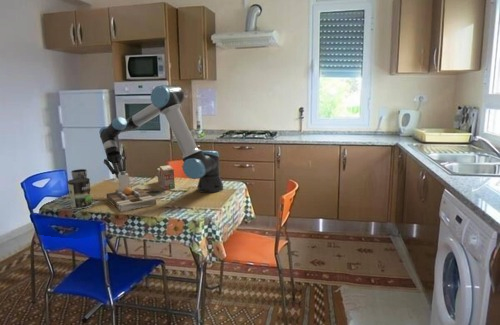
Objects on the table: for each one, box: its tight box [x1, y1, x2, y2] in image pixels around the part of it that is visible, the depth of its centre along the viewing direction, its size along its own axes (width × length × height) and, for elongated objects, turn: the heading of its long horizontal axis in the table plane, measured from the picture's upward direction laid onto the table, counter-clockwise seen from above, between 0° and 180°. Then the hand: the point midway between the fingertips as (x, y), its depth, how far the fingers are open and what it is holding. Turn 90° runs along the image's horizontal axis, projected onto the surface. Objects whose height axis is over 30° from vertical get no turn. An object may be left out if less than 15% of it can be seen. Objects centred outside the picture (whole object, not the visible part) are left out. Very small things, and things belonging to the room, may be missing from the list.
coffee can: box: [67, 177, 93, 210], centre depth 191 cm, size 10×10×14 cm
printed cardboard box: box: [156, 164, 176, 190], centre depth 229 cm, size 21×6×12 cm, turn 24°
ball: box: [124, 187, 132, 195], centre depth 200 cm, size 4×4×4 cm
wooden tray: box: [106, 187, 157, 212], centre depth 197 cm, size 28×18×4 cm, turn 35°
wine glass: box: [70, 168, 88, 179], centre depth 210 cm, size 8×8×15 cm
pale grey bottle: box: [117, 171, 131, 193], centre depth 204 cm, size 3×5×12 cm, turn 125°
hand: (122, 182), depth 207 cm, fingers closed
